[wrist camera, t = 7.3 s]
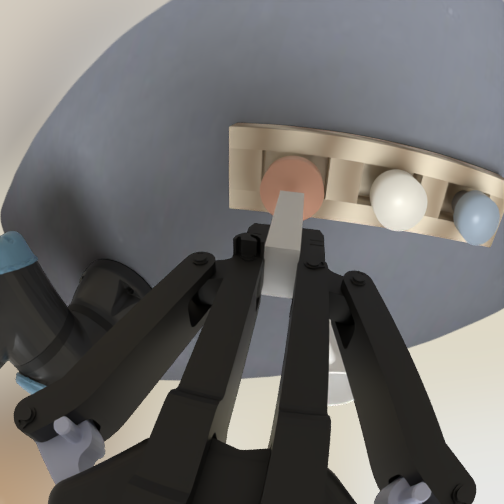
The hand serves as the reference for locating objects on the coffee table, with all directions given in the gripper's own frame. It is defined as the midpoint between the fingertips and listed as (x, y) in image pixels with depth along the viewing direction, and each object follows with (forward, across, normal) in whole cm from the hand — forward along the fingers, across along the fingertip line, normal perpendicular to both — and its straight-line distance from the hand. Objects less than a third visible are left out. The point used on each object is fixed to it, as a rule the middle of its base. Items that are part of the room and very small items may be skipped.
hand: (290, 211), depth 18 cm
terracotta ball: (+8, 0, 0) cm, 8 cm away
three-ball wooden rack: (+11, +9, 0) cm, 14 cm away
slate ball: (+9, +18, 0) cm, 20 cm away
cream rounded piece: (+9, +9, 0) cm, 13 cm away
